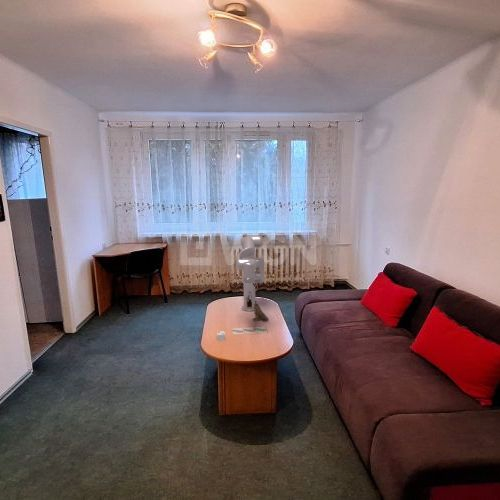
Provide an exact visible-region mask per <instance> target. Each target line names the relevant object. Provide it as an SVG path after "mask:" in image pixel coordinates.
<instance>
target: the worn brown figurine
mask: <svg viewBox="0 0 500 500" xmlns="http://www.w3.org/2000/svg"><path fill="white" fill-rule="evenodd" d="M253 313H254V318H252V321H253V322H263V323H264V322H265V323H267V322H269V317H268V316H267V314H265V313H264V311H263V310H262V309H261V306H260V305H259V304H258V303H257V300H256V299H255V304H254V311H253Z"/></svg>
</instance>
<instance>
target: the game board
mask: <svg viewBox="0 0 500 500" xmlns="http://www.w3.org/2000/svg"><path fill="white" fill-rule="evenodd" d="M268 331H269V330H268V329H267V326H253V327H252V326H251V327H237V328H236V327H235V328H231V333H232V335H244V334H246V335H247V334H262V333H265V334H266V333H267V334H269V332H268Z"/></svg>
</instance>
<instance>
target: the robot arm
mask: <svg viewBox="0 0 500 500" xmlns="http://www.w3.org/2000/svg"><path fill="white" fill-rule="evenodd" d="M263 238H264V237H263V236H262V235H258V234H257V235H255V234H254V235H252V234H251V235H245V236H243V237H241V238H240V245H241V248H242V250H240V251H239V253H238V254H237V255H236V268H237V270H240V271H241V270H242V271H243V273H242V275H241V276H242V283H243V305H242V306H241V309H242V311H245V312H254V304H255V300H256V287H255V285H254V284H262V283H264V281H265V262H264V259H263V258H262V257H255V256H256V255H255V254H256V248H262V247H263V246H264V239H263ZM255 270H257V271H255ZM248 296H249V297H248ZM246 298H247V299H248V298H249V299H248V301H247V307H252V309H246Z"/></svg>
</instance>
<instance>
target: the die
mask: <svg viewBox="0 0 500 500" xmlns="http://www.w3.org/2000/svg"><path fill="white" fill-rule="evenodd" d="M216 340H217V342H222V341H223V342H224V341H226V332H225V331H224V330H223V331H222V330H221V331H216Z"/></svg>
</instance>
